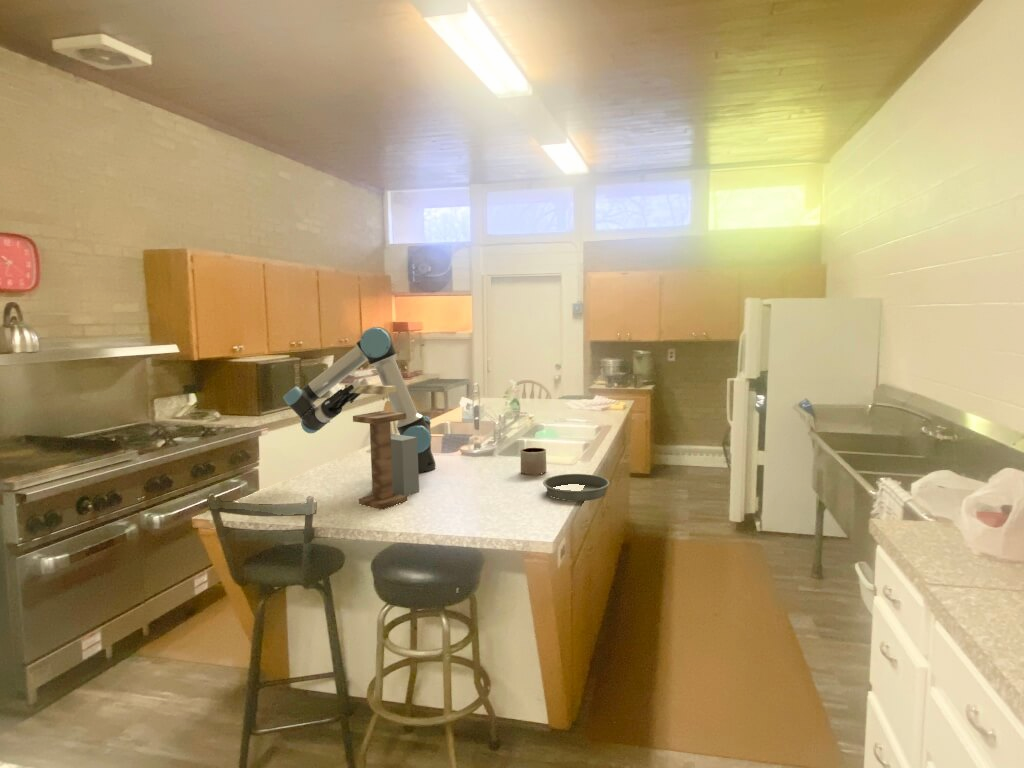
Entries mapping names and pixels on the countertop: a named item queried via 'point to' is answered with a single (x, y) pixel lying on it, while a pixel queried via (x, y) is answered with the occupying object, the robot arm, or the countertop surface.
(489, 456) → the countertop surface
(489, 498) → the countertop surface
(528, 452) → the planter
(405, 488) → the slate block
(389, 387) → the birch bar
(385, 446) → the walnut stand
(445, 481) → the countertop surface
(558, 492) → the cake pan
